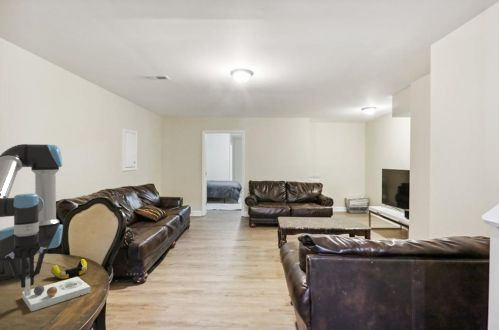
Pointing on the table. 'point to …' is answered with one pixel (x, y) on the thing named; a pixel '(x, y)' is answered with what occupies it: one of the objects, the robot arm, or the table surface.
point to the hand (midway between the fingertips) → (27, 294)
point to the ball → (39, 290)
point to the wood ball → (51, 291)
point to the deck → (64, 292)
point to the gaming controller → (70, 270)
